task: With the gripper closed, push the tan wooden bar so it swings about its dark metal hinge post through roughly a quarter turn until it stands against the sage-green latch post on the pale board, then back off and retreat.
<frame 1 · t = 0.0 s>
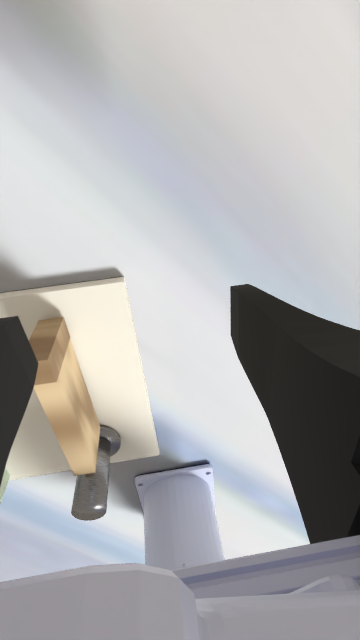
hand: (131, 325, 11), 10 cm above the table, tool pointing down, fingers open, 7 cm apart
board: (6, 399, 25), on the table
tan wooden bar: (68, 402, 21), point 3 cm above the table, hinge at 0.0°, touching hinge post
hinge post: (98, 432, 28), resting on board
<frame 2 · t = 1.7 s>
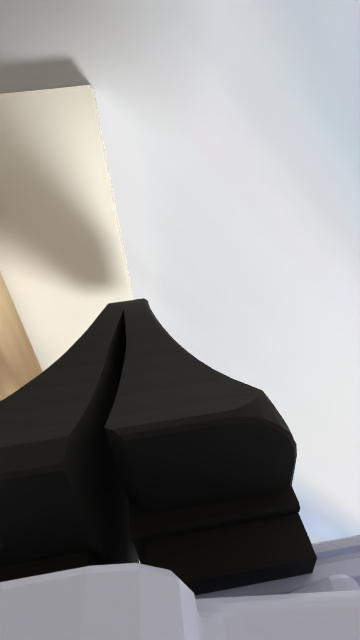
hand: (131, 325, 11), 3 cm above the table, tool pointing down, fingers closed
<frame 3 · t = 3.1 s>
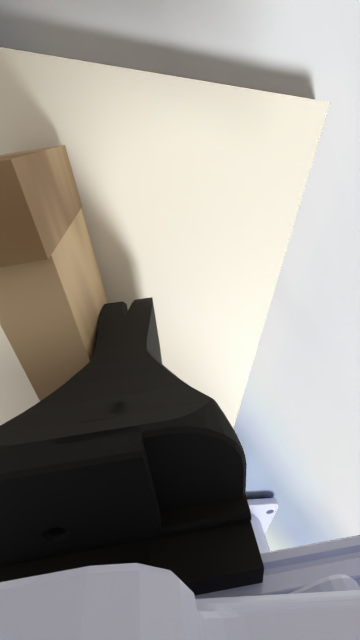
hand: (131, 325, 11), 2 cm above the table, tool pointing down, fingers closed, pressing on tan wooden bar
tan wooden bar: (82, 357, 9), point 3 cm above the table, hinge at 14.2°, touching gripper
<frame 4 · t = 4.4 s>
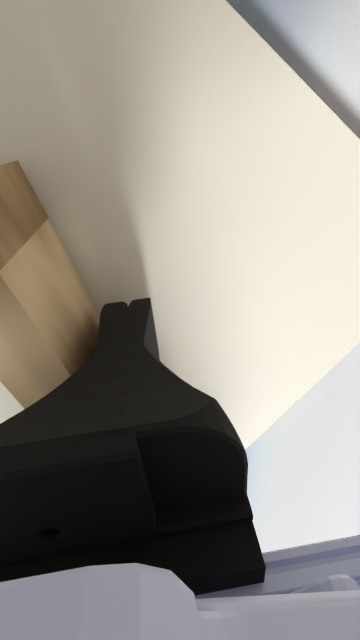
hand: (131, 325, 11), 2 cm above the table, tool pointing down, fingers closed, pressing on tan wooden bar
board: (91, 290, 12), on the table
tan wooden bar: (73, 366, 10), point 3 cm above the table, hinge at 51.3°, touching gripper
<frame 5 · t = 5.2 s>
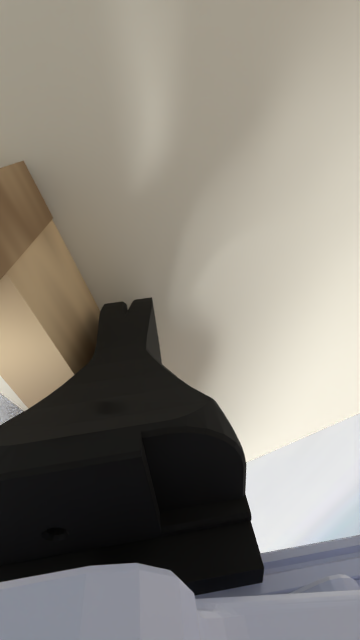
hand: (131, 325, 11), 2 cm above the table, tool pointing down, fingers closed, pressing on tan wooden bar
board: (192, 285, 12), on the table
tan wooden bar: (76, 366, 10), point 3 cm above the table, hinge at 78.2°, touching gripper
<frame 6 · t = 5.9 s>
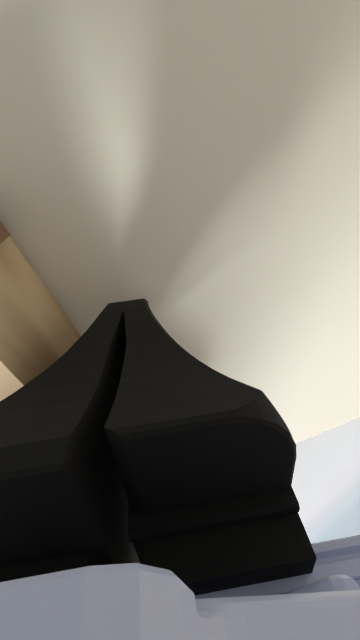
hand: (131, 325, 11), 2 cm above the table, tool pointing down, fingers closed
board: (186, 292, 13), on the table
tan wooden bar: (43, 378, 10), point 3 cm above the table, hinge at 84.5°
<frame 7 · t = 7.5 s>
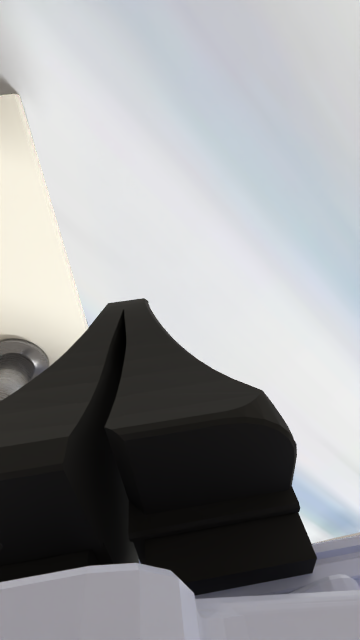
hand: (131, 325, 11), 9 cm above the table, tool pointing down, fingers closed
hinge post: (21, 355, 22), resting on board
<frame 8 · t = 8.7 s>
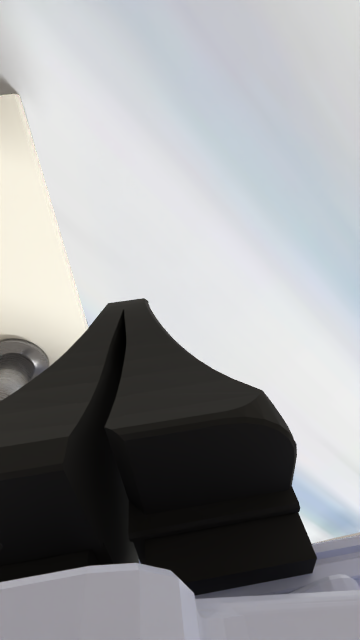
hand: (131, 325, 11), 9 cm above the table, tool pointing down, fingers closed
hinge post: (21, 355, 22), resting on board
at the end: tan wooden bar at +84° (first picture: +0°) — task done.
